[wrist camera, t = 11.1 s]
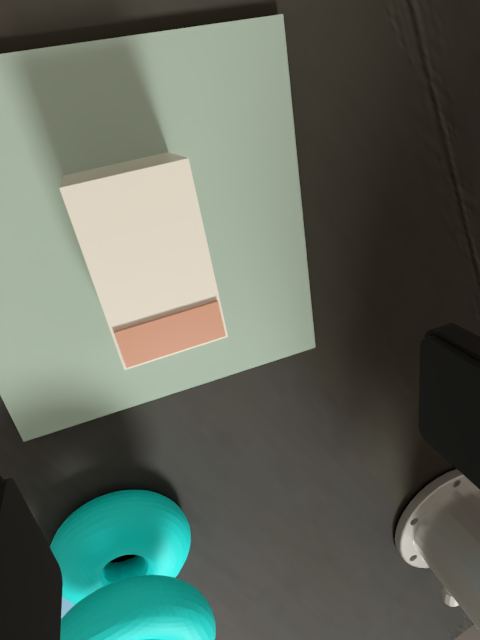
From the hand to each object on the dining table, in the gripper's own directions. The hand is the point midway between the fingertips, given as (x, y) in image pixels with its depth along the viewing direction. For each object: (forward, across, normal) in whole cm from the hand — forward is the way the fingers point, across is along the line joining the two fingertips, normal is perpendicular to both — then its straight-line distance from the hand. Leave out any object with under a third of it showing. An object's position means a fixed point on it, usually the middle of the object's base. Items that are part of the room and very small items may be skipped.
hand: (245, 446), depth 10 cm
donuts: (+18, +7, +21) cm, 29 cm away
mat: (+18, 0, 0) cm, 18 cm away
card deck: (+18, 0, 0) cm, 18 cm away
